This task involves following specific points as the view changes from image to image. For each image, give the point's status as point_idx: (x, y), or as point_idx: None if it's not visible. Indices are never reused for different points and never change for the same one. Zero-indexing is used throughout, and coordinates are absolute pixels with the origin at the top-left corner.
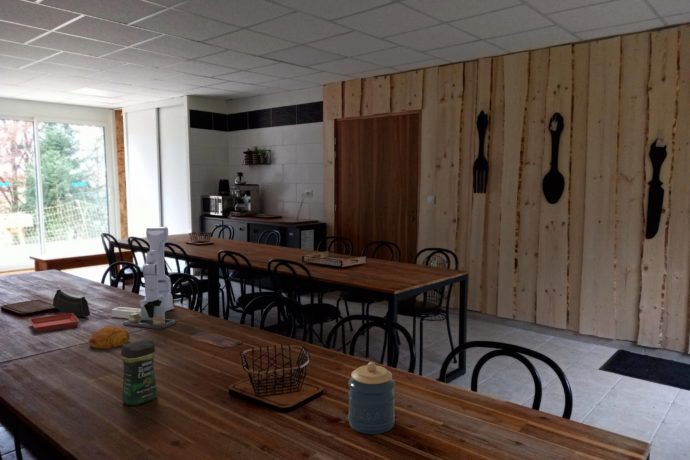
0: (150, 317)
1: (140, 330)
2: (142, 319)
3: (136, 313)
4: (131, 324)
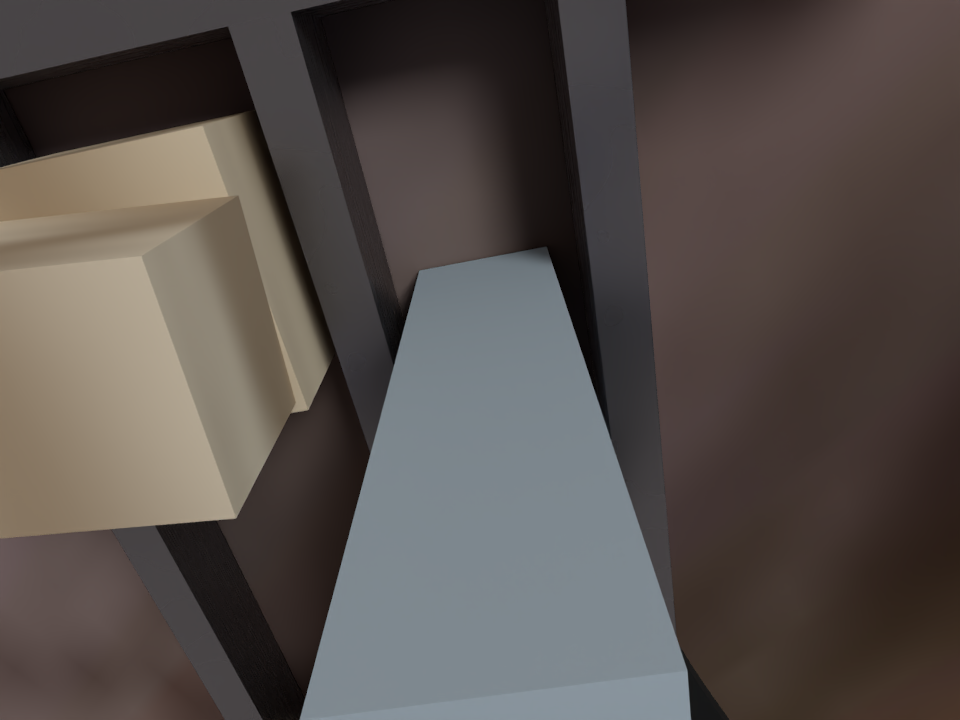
0: None
1: (85, 682)
2: None
3: (130, 443)
4: None
